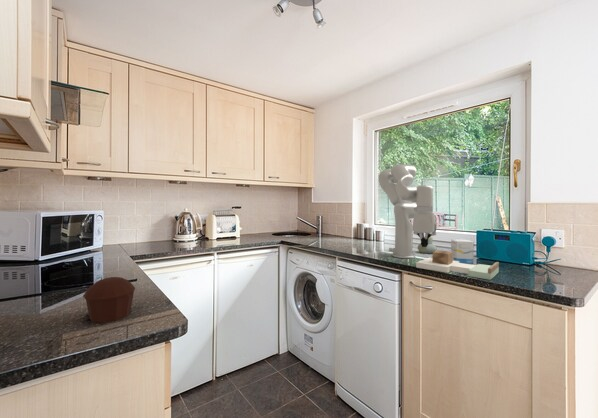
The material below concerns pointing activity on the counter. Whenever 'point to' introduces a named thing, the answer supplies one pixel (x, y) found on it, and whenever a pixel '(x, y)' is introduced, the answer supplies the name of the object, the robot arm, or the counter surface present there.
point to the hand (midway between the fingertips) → (424, 246)
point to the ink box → (462, 251)
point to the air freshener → (429, 248)
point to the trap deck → (461, 268)
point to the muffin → (109, 299)
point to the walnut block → (442, 257)
